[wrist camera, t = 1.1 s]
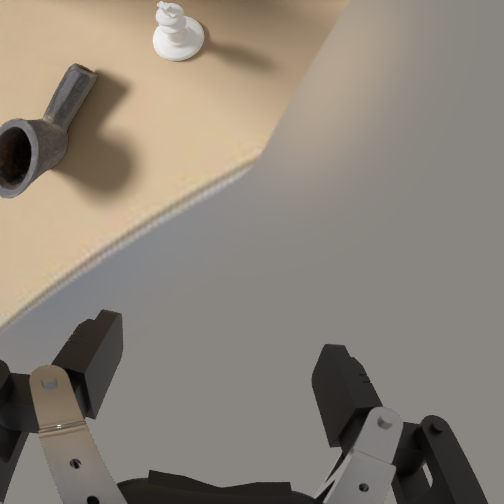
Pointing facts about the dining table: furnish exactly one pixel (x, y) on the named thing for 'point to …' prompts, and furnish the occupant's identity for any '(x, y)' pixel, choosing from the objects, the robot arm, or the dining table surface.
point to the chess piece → (176, 33)
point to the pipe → (41, 134)
